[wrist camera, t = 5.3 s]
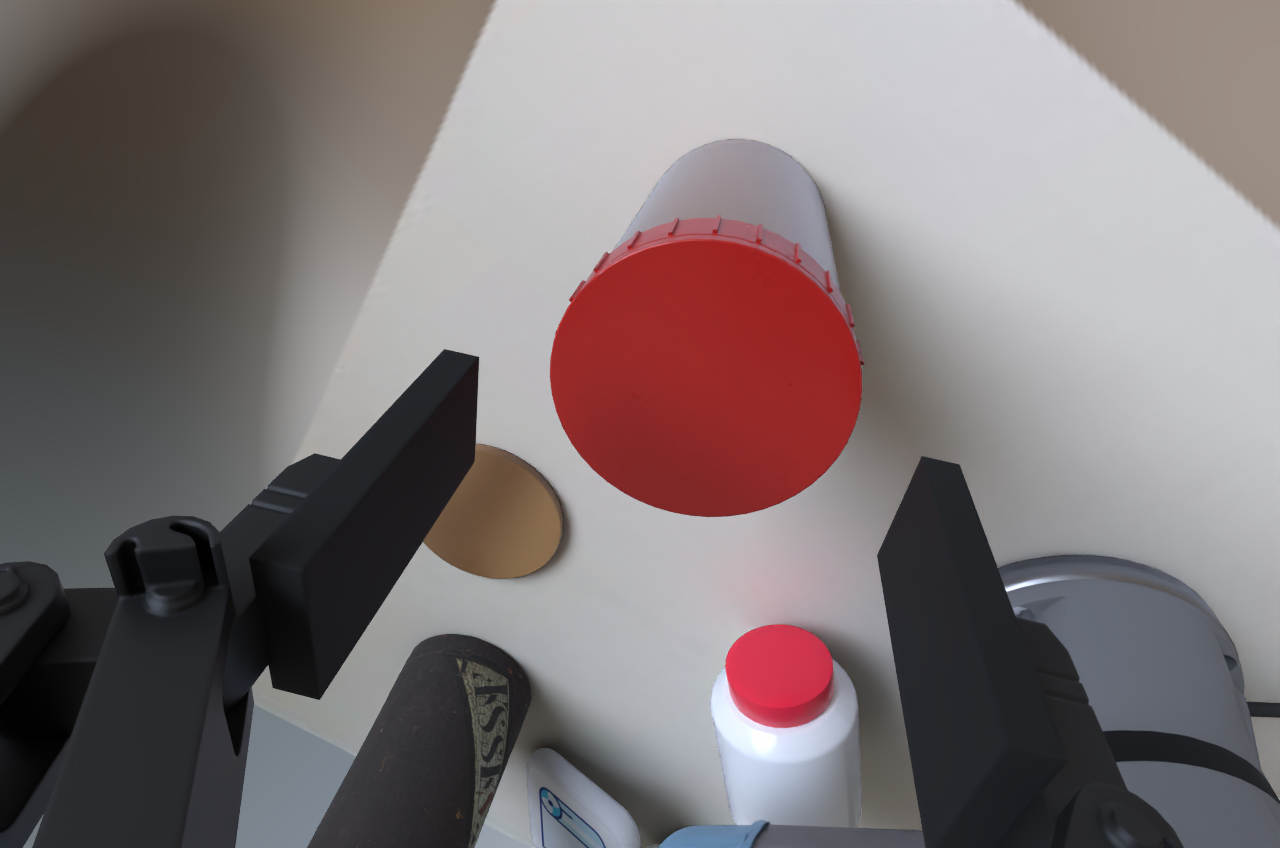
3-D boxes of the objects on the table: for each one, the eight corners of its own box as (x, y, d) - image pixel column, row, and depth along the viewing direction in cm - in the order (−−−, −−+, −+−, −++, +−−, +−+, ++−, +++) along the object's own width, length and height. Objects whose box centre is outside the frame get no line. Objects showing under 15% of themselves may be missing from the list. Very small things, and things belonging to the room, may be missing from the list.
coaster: (572, 464, 38) (569, 470, 37) (555, 587, 42) (553, 594, 42) (408, 426, 38) (403, 432, 38) (410, 551, 43) (405, 558, 42)
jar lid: (902, 251, 17) (914, 277, 16) (809, 505, 22) (811, 547, 20) (583, 185, 18) (563, 204, 16) (553, 446, 22) (535, 482, 21)
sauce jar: (851, 159, 28) (898, 276, 16) (798, 335, 32) (806, 529, 20) (660, 121, 28) (576, 209, 17) (631, 299, 32) (547, 468, 21)
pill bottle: (767, 718, 47) (750, 592, 42) (883, 773, 43) (880, 639, 37) (703, 815, 42) (674, 687, 37) (826, 890, 38) (814, 755, 32)
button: (520, 747, 50) (626, 837, 43) (539, 733, 51) (645, 819, 45) (527, 847, 54) (626, 943, 47) (545, 831, 55) (643, 923, 49)
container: (516, 737, 50) (381, 1111, 33) (396, 690, 50) (196, 1044, 33) (551, 663, 46) (416, 1051, 29) (420, 609, 46) (204, 971, 28)
